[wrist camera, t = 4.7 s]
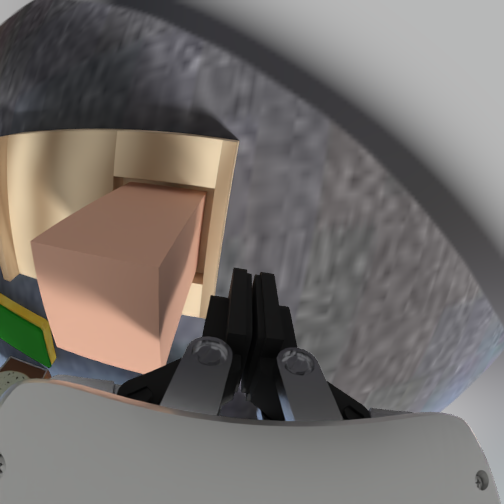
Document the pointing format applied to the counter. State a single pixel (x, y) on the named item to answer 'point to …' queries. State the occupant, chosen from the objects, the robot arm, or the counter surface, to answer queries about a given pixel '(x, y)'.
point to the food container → (19, 372)
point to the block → (121, 273)
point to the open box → (109, 187)
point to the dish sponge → (26, 331)
